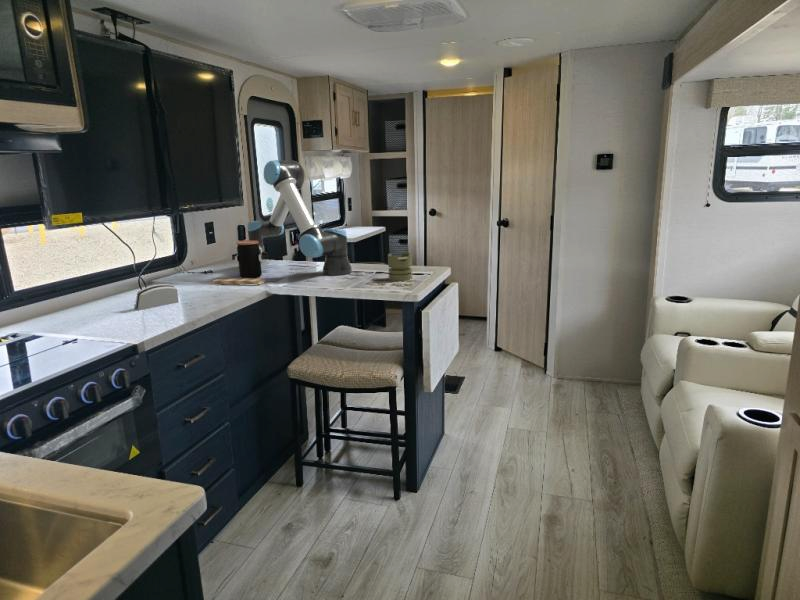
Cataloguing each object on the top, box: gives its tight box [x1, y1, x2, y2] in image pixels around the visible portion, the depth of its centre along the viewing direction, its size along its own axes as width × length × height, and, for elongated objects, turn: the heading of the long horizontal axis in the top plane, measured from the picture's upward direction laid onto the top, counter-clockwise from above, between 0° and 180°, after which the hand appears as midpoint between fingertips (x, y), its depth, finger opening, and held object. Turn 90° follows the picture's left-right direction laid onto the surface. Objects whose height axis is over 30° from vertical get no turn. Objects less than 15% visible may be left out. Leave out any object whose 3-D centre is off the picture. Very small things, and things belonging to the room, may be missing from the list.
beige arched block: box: [133, 283, 179, 311], centre depth 216 cm, size 17×5×10 cm, turn 138°
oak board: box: [212, 277, 266, 286], centre depth 257 cm, size 24×7×2 cm, turn 77°
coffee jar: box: [236, 239, 263, 278], centre depth 265 cm, size 11×11×18 cm
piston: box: [387, 252, 413, 282], centre depth 254 cm, size 11×12×11 cm
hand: (247, 258), depth 261 cm, fingers closed on coffee jar, 11 cm apart
